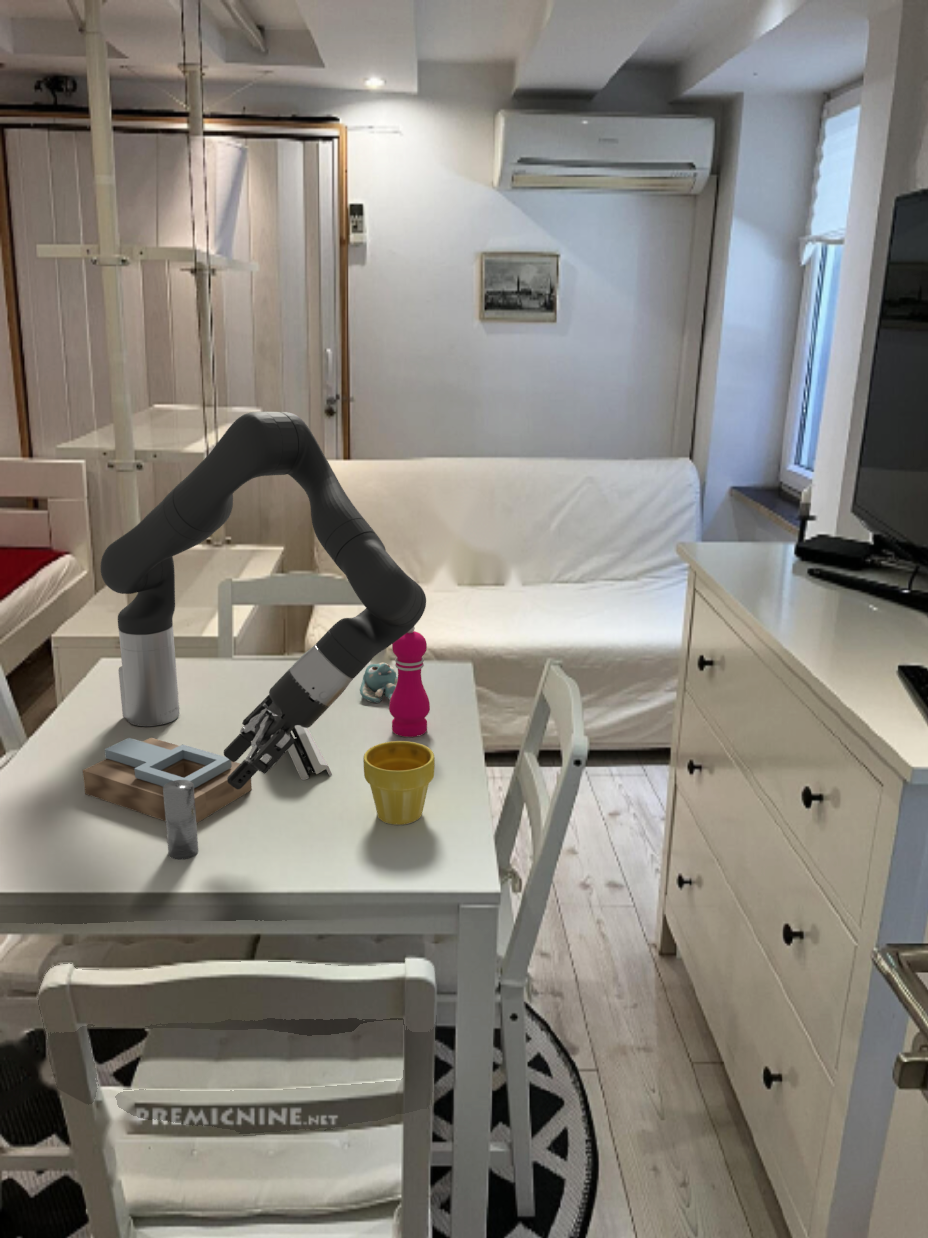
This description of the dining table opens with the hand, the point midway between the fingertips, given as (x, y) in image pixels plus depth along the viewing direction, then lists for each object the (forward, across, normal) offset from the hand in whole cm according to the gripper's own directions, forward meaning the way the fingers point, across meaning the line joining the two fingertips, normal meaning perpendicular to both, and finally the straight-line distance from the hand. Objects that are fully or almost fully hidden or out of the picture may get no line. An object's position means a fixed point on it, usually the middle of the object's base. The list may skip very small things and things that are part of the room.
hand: (230, 771), depth 137 cm
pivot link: (+12, -19, -1) cm, 23 cm away
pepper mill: (-15, -32, +31) cm, 48 cm away
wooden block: (+14, -19, +2) cm, 24 cm away
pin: (+13, 0, +3) cm, 13 cm away
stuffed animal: (-14, -49, +31) cm, 60 cm away
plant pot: (-9, -3, +25) cm, 27 cm away
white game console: (0, -26, +17) cm, 31 cm away
